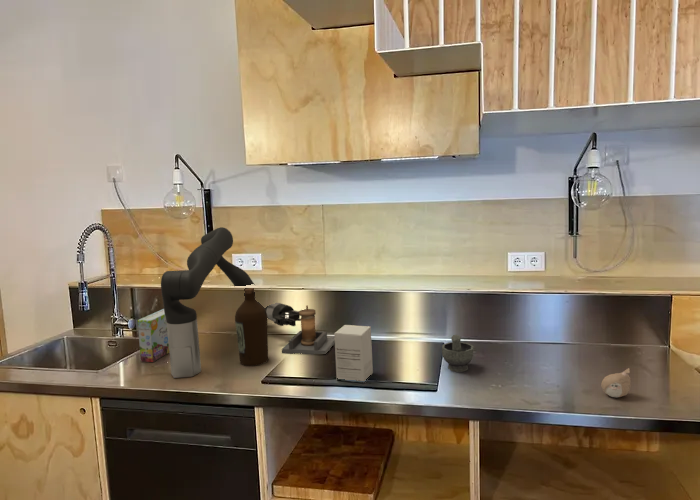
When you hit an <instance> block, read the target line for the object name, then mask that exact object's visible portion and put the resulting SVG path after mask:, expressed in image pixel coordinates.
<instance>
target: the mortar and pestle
mask: <svg viewBox="0 0 700 500" xmlns="http://www.w3.org/2000/svg"><path fill="white" fill-rule="evenodd" d="M461 339H462V337H461V336H460V335H459V334H453V335H452V336H451V341H450V342H447V343H443V344H442V345H441V354H442V359H444V361H445V362H446V363H447V364H448V366H447V369H448V370H449V371H451V372H456V373H460V372H465V371H468V370H469V366H468V365H469V364H470V363H471V361H472V360H473V356H474V350H475V349H474V345H473V344H471V343H468V342H463V341H461Z"/></svg>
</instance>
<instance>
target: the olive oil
mask: <svg viewBox="0 0 700 500" xmlns="http://www.w3.org/2000/svg"><path fill="white" fill-rule="evenodd" d="M244 291H245V293H244V296H245V298H244V301H243V302H242V303H241V305H240V306H238V308H237V309H236V311H235V315H234V323H235V324H234V325H235V329H236V330H235V331H236V339H237V346H238V347H237V348H238V352H239V353H238V356H239V363H240V364H241V365H242V366H246V367H247V366H249V367H253V366H254V367H255V366H259V365H263V364H265V363H267V362H268V361H269V345H268V319H267V313H266V310H265V308H264V307H263V306H262V305H261V304H260V303H259V302H257V301H256V300H255V298H256V297H255V292H254V288H245V289H244Z"/></svg>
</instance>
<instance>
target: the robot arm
mask: <svg viewBox="0 0 700 500" xmlns="http://www.w3.org/2000/svg"><path fill="white" fill-rule="evenodd" d="M233 237H234V236H233V234H232V232H231V231H230V230H229V229H227V228H226V227H216V228H215V229H213V230H210V231H209V232H208V233H206V234H204V235H202V236H201V239H200V245H198V246H197V247H196V248H194V250H193V251H192V252H191V253H190V254H189V256H188V257H187V260H186V265H187V269H188V270H187V269H185V270H183V269H181V270H180V269H179V270H167V271H165V272H163V274H162V276H161V279H160V291H161V297H162V303H163V309H164V313H165V316H166V322H167V333H168V344H169V353H168V354H169V365H170V373H171V376H172V377H173V379H176V378H178V379H179V378H190V377H191V378H192V377H194V376H195V375H197V374H199V373H200V372H201V371H202V363H201V362H202V361H201V351H200V350H201V349H200V340H199V339H200V338H199V330H198V329H199V328H198V316H197V315H198V314H197V311H196V310H195V309H194V308H192V307H189V306H186V305H184V304H183V303H181V301H182V300H183V301H187V300H192V299H195V298H196V297H197V295H198V294H199V292H200V290H201V288H202V286H203V285H204V283H205V280H206V279H207V278H208V276H209V275H210V273H211V272H212V271H213V269H214V268H215V266H217V267H218V268H219V269H220V270H221V271H222V272H223V273H224V274H225V276H226V277H227V278H228V279H229V281H230V282H231V283H232V285H233V286H234V287H235V286H246V285H251V284H254V285H255V283H254V281H253V279H252V278H251V277H250V276H249V275H250V274H249V275H248V273H247V272H246V271H245V270H243V269H242V268H240V267H238V266H237V265H235V264H233V263H231V262H230V261H228V260H227V259H226V258H224V256H223V255H225V253H226V252H227V251H228V250H230V249H231V248H232V247H233V244H234V238H233ZM180 300H181V301H180ZM265 310H266V313H267V318H268V319H267V320H270V321H272V322H273V324H275V325H277V326H280V327H284V326H291V327H296V326H297V325H296V322H301V317H302V316H300V315H299V311H300V310H295V309H294V308H293V306H291V305H287V304H285V303H281V302H276V303H275V304H271V305H269V306H267V307H266V308H265ZM313 316H314V317H315V318H316V316H315V315H313Z"/></svg>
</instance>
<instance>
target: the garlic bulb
mask: <svg viewBox="0 0 700 500" xmlns="http://www.w3.org/2000/svg"><path fill="white" fill-rule="evenodd" d="M630 371H631V369H630V367H628V368H626V369H625V370H623V371H622V372H616V373H610V374H608V375H606V376H604V378H603V379H602V381H601V384H600V385H601V386H600V387H601V390H603V392H604V394H606V395H608V396H609V397H612V398H621V397H625V396H627V395H628V394H629V393H630V390H631V382H632V381H631V380H632V379H631V377H630V375H629V374H630Z"/></svg>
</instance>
